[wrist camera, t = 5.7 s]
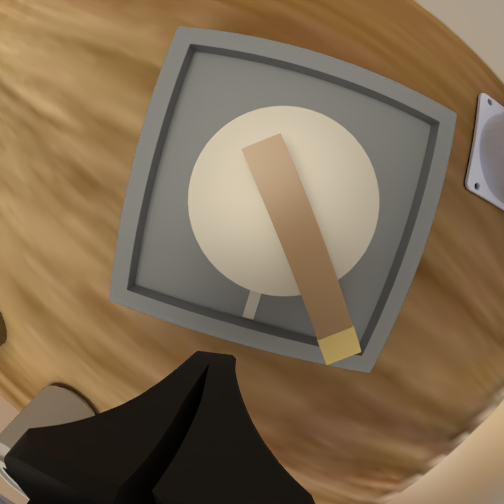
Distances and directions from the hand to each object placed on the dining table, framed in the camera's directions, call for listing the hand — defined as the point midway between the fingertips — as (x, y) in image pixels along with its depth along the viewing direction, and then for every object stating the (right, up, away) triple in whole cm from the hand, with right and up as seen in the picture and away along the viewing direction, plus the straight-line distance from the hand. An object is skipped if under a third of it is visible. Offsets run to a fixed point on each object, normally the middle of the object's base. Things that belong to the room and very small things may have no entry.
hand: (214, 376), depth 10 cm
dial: (+4, +6, +7) cm, 10 cm away
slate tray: (+3, +8, +8) cm, 12 cm away
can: (-17, -12, +14) cm, 25 cm away
